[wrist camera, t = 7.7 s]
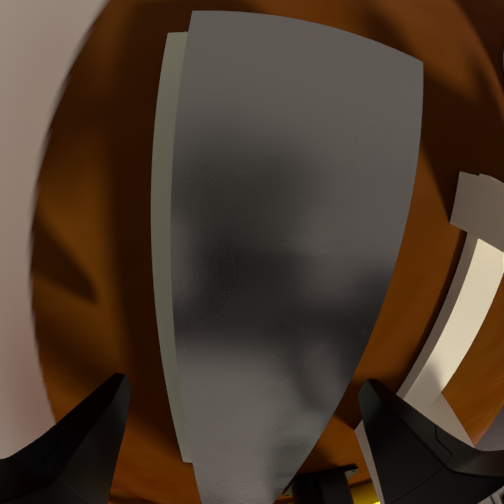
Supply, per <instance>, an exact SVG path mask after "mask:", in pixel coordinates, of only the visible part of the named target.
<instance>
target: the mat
mask: <svg viewBox="0 0 504 504" xmlns="http://www.w3.org/2000/svg"><path fill="white" fill-rule="evenodd" d="M187 36H188V32H175V33H168V35H167V40H166V45H165V51H164V57H163V62H162V69H161V75H160V82H159V90H158V98H157V106H156V116H155V127H154V139H153V154H152V176H151V246H152V268H153V283H154V296H155V308H156V317H157V327H158V335H159V343H160V350H161V357H162V364H163V370H164V376H165V382H166V388H167V393H168V398H169V404H170V408H171V413H172V418H173V422H174V427H175V431H176V435H177V440H178V444H179V447H180V451H181V455H182V459H183V462H190V463H192V458H191V453H190V448H189V443H188V437H187V431H186V425H185V419H184V413H183V406H182V399H181V392H180V384H179V376H178V367H177V357H176V347H175V336H174V323H173V307H172V287H171V251H170V218H171V182H172V162H173V147H174V134H175V123H176V113H177V104H178V95H179V87H180V79H181V72H182V66H183V59H184V53H185V47H186V41H187Z"/></svg>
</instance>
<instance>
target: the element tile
mask: <svg viewBox="0 0 504 504" xmlns="http://www.w3.org/2000/svg"><path fill="white" fill-rule="evenodd" d="M350 490H351V494H352V497H353V501H354V504H380V502H379V499H378V496H377V493H376V490H375V487H374V484H373V481H372V482H370V483H367V484H364V485H361V486H357V487H354V488H351V489H350ZM286 504H294V502H290V503H286Z"/></svg>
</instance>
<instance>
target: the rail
mask: <svg viewBox="0 0 504 504" xmlns="http://www.w3.org/2000/svg"><path fill="white" fill-rule="evenodd" d="M422 107H423V62H422V61H420V60H418V59H416V58H414V57H412V56H410V55H407V54H405V53H403V52H401V51H398V50H396V49H394V48H391V47H389V46H387V45H384V44H381V43H379V42H376V41H374V40H371V39H368V38H365V37H362V36H359V35H356V34H353V33H350V32H347V31H343V30H340V29H337V28H333V27H329V26H325V25H321V24H317V23H313V22H308V21H303V20H298V19H293V18H288V17H281V16H275V15H267V14H259V13H249V12H235V11H192V16H191V20H190V25H189V30H188V36H187V41H186V47H185V53H184V59H183V66H182V72H181V79H180V87H179V95H178V104H177V113H176V123H175V134H174V147H173V162H172V182H171V218H170V251H171V287H172V307H173V323H174V336H175V347H176V357H177V367H178V376H179V384H180V392H181V399H182V406H183V413H184V419H185V425H186V431H187V437H188V443H189V448H190V453H191V458H192V463H193V468H194V472H195V477H196V481H197V486H198V490H199V494H200V498H201V502H202V504H273V503H274V502H275V500H276V499H277V498H278V497H279V495H280V494H281V493H282V491H283V490H284V489H285V488H286V486H287V485H288V484H289V482H290V481H291V479H292V478H293V477H294V475H295V474H296V472H297V471H298V470H299V468H300V467H301V465H302V464H303V462H304V461H305V459H306V458H307V456H308V455H309V453H310V452H311V450H312V449H313V447H314V445H315V444H316V442H317V441H318V439H319V437H320V436H321V434H322V432H323V431H324V429H325V427H326V426H327V424H328V422H329V420H330V419H331V417H332V415H333V413H334V412H335V410H336V408H337V406H338V404H339V402H340V400H341V398H342V397H343V395H344V393H345V391H346V389H347V387H348V385H349V383H350V381H351V379H352V376H353V374H354V372H355V370H356V368H357V366H358V364H359V361H360V359H361V357H362V355H363V352H364V350H365V348H366V345H367V343H368V341H369V338H370V336H371V333H372V331H373V328H374V326H375V323H376V320H377V318H378V315H379V312H380V310H381V307H382V304H383V301H384V298H385V295H386V292H387V289H388V286H389V283H390V280H391V277H392V274H393V270H394V267H395V264H396V260H397V257H398V253H399V249H400V246H401V242H402V238H403V234H404V230H405V225H406V221H407V217H408V212H409V207H410V202H411V197H412V192H413V186H414V180H415V174H416V168H417V161H418V153H419V144H420V135H421V123H422Z"/></svg>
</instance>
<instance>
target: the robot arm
mask: <svg viewBox="0 0 504 504" xmlns="http://www.w3.org/2000/svg"><path fill="white" fill-rule="evenodd" d="M130 395H131V388H130V384H129V381H128V378H127V375H126V374H122V373H114V374H113V375H112V376H111V377H110V378H108V379H107V380H106V381H105V382H104V383H103V384H101V385H100V386H99V387H98V388H97V389H96V390H95V391H93V392H92V393H91V394H90V395H89V396H88V397H86V398H85V399H84V400H83V401H82V402H81V403H79V404H78V405H77V406H76V407H75V408H74V409H73V410H71V411H70V412H69V413H68V414H67V415H66V416H64V417H63V418H62V419H61V420H60V421H59V422H57V423H56V425H54V426H53V427H52V428H50V429H49V430H48V431H47V432H46V433H44V434H43V435H42V436H41V437H39V438H38V439H36V440H35V441H34V442H32V443H30V444H29V445H27V446H26V447H24V448H23V449H21V450H20V451H18V452H16V453H15V454H13V455H12V456H10V457H7V458H4V459H0V504H108V499H109V494H110V489H111V484H112V480H113V475H114V471H115V466H116V462H117V458H118V454H119V450H120V446H121V442H122V439H123V435H124V431H125V427H126V421H127V414H128V407H129V401H130ZM358 398H359V403H360V409H361V414H362V420H363V425H364V429H365V433H366V436H367V440H368V443H369V447H370V450H371V454H372V457H373V461H374V464H375V468H376V472H377V475H378V479H379V483H380V487H381V491H382V495H383V499H384V503H385V504H504V450H500V451H499V450H498V451H481V450H478V449H475V448H473V447H472V446H470V445H468V444H466V443H464V442H463V441H461V440H459V439H457V438H456V437H454V436H453V435H451V434H449V433H448V432H446V431H445V430H443V429H442V428H441V427H439V426H438V425H437V424H435V423H434V422H432V421H431V420H430V419H428V418H427V417H426V416H424V415H423V414H422V413H420V412H419V411H418V410H416V409H415V408H414V407H412V406H411V405H410V404H408V403H407V402H406V401H404V400H403V399H402V398H400V397H399V396H398V395H397V394H395V393H394V392H393V391H391V390H390V389H389V388H387V387H386V386H385V385H383V384H382V383H381V382H380V381H378V380H377V379H367V380H366V381H365V382H364V384H363V386H362V388H361V389H360V391H359V394H358ZM358 470H359V469H358V466H354V467H349V468H345V469H340V470H335V471H329V472H324V473H317V474H311V475H303V476H297V477H295V478H293V480H292V481H291V482H290V484H289V485H288V486H287V488H286V489H285V490H284V492H283V496H293V502H294V504H354V501H353V497H352V494H351V490H350V487H349V483H348V479H349V478H350V477H351V476H353V475H354V474H355V473H356V472H357V471H358Z"/></svg>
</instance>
